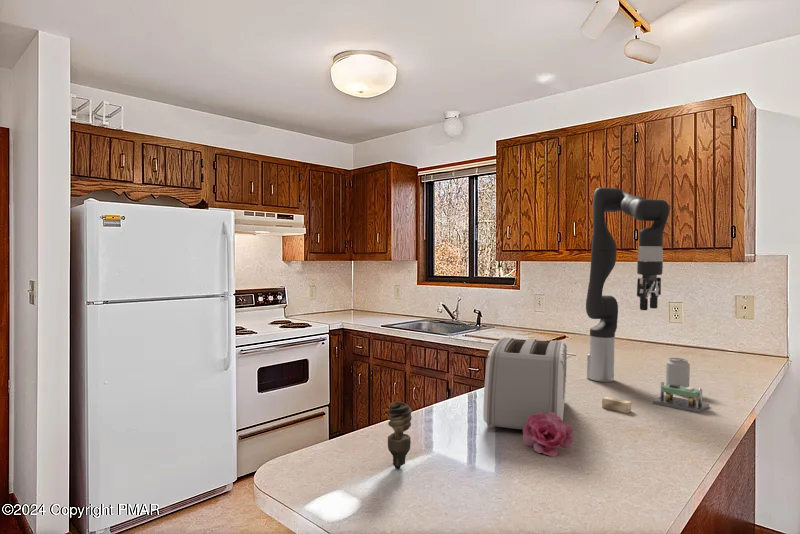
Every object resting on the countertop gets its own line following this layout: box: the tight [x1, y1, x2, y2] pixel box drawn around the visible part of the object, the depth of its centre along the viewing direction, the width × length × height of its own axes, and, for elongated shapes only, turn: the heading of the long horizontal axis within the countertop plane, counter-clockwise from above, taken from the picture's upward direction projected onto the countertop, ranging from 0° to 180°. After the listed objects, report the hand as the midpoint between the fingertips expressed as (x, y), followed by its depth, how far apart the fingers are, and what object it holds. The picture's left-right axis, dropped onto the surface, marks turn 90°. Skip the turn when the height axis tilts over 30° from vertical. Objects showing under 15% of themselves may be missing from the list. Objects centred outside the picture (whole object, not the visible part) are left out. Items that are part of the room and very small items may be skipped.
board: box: [662, 384, 699, 398], centre depth 172 cm, size 10×6×2 cm, turn 44°
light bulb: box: [387, 401, 413, 470], centre depth 118 cm, size 6×6×15 cm
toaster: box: [482, 336, 568, 433], centre depth 161 cm, size 21×45×22 cm, turn 161°
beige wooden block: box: [601, 396, 632, 414], centre depth 166 cm, size 8×3×3 cm, turn 44°
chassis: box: [652, 381, 710, 414], centre depth 172 cm, size 14×10×6 cm
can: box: [665, 357, 691, 387], centre depth 189 cm, size 8×8×12 cm
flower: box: [522, 412, 574, 457], centre depth 131 cm, size 11×10×10 cm
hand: (648, 309), depth 173 cm, fingers open, 8 cm apart
